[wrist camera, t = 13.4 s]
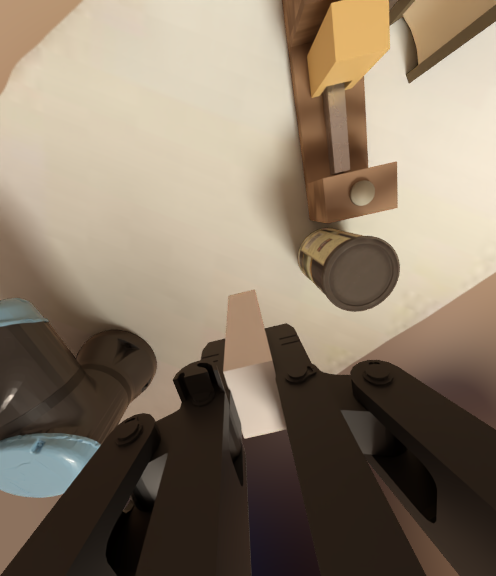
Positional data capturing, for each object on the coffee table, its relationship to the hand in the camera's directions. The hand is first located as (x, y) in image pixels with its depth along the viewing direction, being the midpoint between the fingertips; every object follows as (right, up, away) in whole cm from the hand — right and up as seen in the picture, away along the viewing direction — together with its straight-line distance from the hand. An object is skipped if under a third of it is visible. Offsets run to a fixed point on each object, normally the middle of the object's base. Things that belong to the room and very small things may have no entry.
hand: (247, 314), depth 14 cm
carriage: (+12, +32, +21) cm, 41 cm away
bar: (+13, +28, +23) cm, 38 cm away
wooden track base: (+13, +29, +24) cm, 40 cm away
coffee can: (+14, +8, +32) cm, 36 cm away
